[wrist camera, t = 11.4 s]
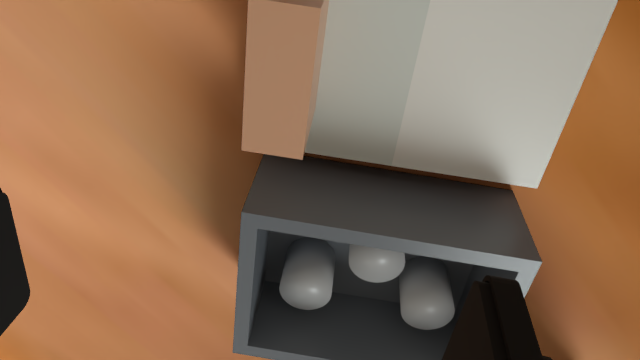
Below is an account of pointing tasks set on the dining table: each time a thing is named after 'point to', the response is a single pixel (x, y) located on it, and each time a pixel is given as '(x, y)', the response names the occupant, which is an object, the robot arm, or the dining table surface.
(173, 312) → the dining table surface
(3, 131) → the dining table surface
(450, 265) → the tub
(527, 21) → the lid
